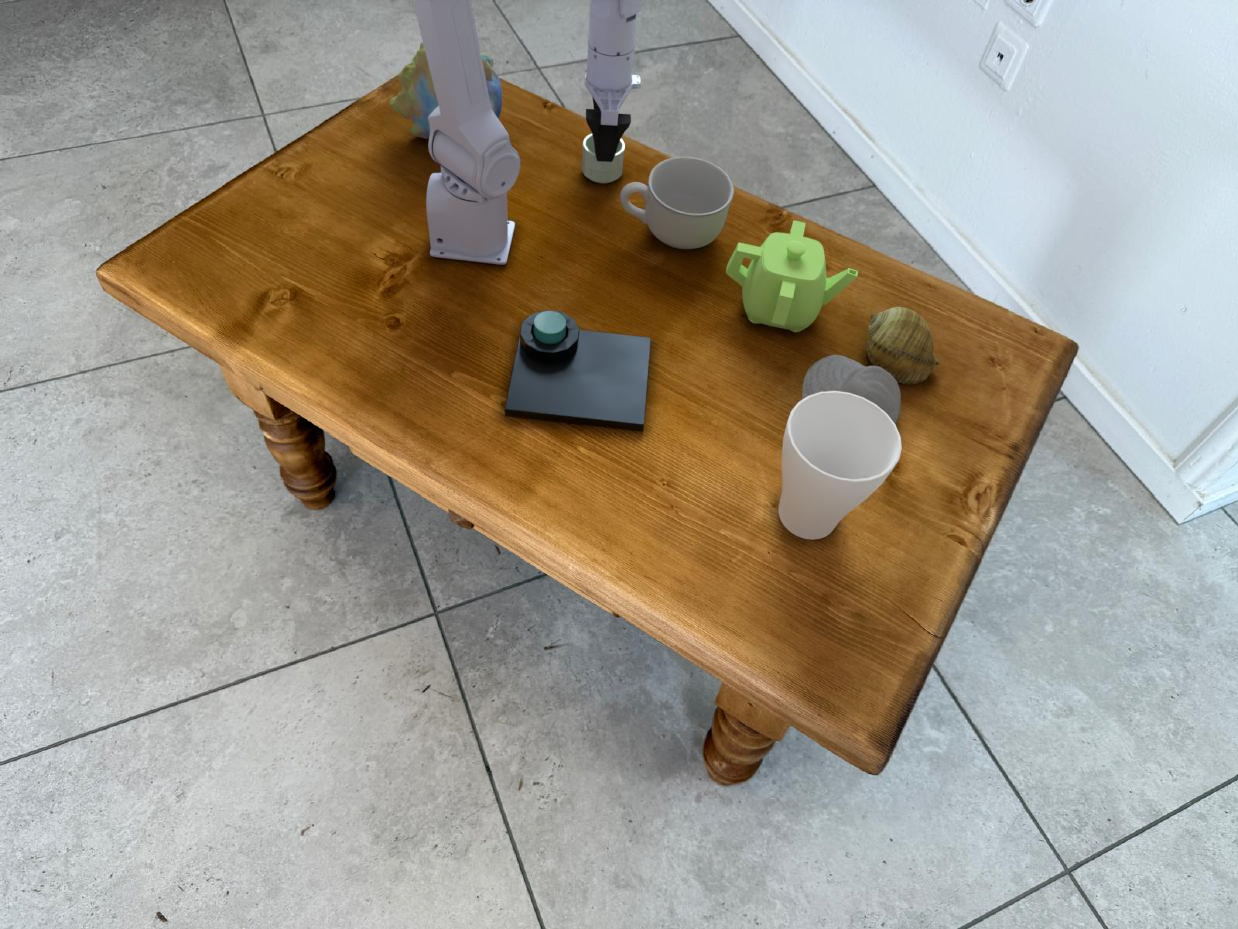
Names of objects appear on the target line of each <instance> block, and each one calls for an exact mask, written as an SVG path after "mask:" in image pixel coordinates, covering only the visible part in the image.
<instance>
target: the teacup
mask: <svg viewBox="0 0 1238 929" xmlns="http://www.w3.org/2000/svg"><path fill="white" fill-rule="evenodd" d="M734 193H735V188H734V184H733V182H732V179H731V178H730V176H729V175H728V174H727V172H726V171H724V170H723V169H722V167H719V166H718V165H716V164H714V163H712V162H711V161H708V160H705V159H703V158H697V157H694V156H674V157H671V158H667V159H664V160H662V161H660V162H659V163H657V164H656V165H655V166H654V167H653V168H652V169H651V171H650V173H649V175H648V182H647V185H646V184H645V183H642V182H639V181H632V182H629V183H627V184H626V185H624V186H623V188H622V189H621V191H620V195H619V200H620V205H621V206H622V208H623V210H624V211H625V212H627V213H628V214H630V215H631V216H633V217H634V218H636V219H639V221H640V223H642V224H644V225H647V227H648V229H649V230H650V232H651V234H653V236H654V237H655V238H656V239H658V240H659V241H660V242H662V243H663V244H665V245H667V246H669V247H671V248H675V249H678V250H692V249H693V250H694V249H699V248H700V249H701V248H702V247H706V246H708V245H709V244H711V243H713V241H715V240H716V239H717V238H718V237H719V236H720V234H721V232H722V231H723V228H724V227H725V224H726V220H727V217H728V213H729V210H730V206H731V203H732V201H733V198H734ZM633 194H641V196H642V197H643V201H644V203H645V207H644V209H643V208H640V207H637V206H635V205H634V204H632V203H631V202H630V201H629V197H630V196H631V195H633Z"/></svg>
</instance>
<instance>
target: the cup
mask: <svg viewBox="0 0 1238 929" xmlns="http://www.w3.org/2000/svg"><path fill="white" fill-rule="evenodd" d="M782 437H783V438H782V450H781V480H782V482H781V494H780V499H779V503H778V517H779V520H780V522H781V523H782V525H783V527H784V528H785V529H786V530H787V531H789V533H790V534H793V535H794V536H796V537H798V538H801V539H804V540H812V541H813V540H820V539H823V538H825V537H827V536H829V535H830V534H831V533H832V532H833V531H834V530H835V528H836V527H837V526H838V524H839V523H840V522H841V520H843V519H844V518H845V517H846V516H847V515H849V513H850V512H852V511H853V510H854V509H855V508H856V507H858V506H859V505H860V504H862V503H864V502H865V501H866V500H867V499H868V498H869V497H870V496H871V495H873V494H874V493H875V491H877V490H878V489H879V488H880V487H881V486H882V485H883V483H884V482H885V481H886V480H887V478H888V476H890V474H891V472H892V471H893V470H894V468H895V467H896V465H898V462H899V461H900V458H901V454H902V449H903V447H902V445H903V444H902V437H901V434H900V432H899V430H898V427H897V424H896V425H895V423H894V422H893V421H892V420H891V418H890V417H889V416H888V414H887V413H886V412H884V411H883V410H882V409H881V408H880V407H878V406H877V405H876V404H874V403H872V402H871V401H869V400H867V399H865V398H863V397H860V396H857V395H854V394H851V393H847V392H840V391H826V392H819V393H816V394H813V395H809V396H807V397H806V398H804V399H803V398H802V399H801V400H799V401H798V402H797V403H796V404H795V405H794V407H793V408H792V409H791V410H790V413H789V416H788V419H787V422H786V425H785V429H784V434H783V436H782Z"/></svg>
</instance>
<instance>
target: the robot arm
mask: <svg viewBox="0 0 1238 929" xmlns="http://www.w3.org/2000/svg"><path fill="white" fill-rule="evenodd" d="M644 2H645V0H589V18H588V19H589V20H588V37H587V38H588V39H587V57H586V70H585V73H584V85H585V87H586V89H587V90H588V92H589V94H590V95H591V99H592V104H593V108H585V120H586V124H587V126H588V128H589V130H590V132H591V134H592V135H593V139H594V147H595V154H596V159H597V161H602V162H612V161H613V159H614V157H615V154H616V151H617V148H618V145H619V142H620V139H621V138H622V137H623V136H624V134H625V133H626V131H627V130H628V129H629V128H630V126H631V123H632V114H631V113H619V111H620V109H621V107H622V105H623V104H624V103H625V101H626V99H627V97H628V96H629V94H630V93H631V91H632V90H639V89H641V87H642V86H641V85H642V78H641V76H640V75H637V74H633V73H634V72H633V70H634V61H635V52H636V43H637V42H636V40H637V30H638V21H639V20H638V19H639V13H640V12H641V11H642V8H643V7H644ZM412 3H413V8H414V12H415V16H416V19H417V23H418V24H417V25H418V28H419V32H420V36H421V40H422V43H423V44H424V48H425V52H426V56H427V61H428V65H429V69H430V73H431V77H432V81H433V85H434V89H435V93H436V97H437V101H438V105H439V106H438V107H437V108H436V109H434V111H433V112H432V113H431V114H430V115H429V117H428V121H429V124H430V136H429V139H428V143H427V146H428V152H429V155H430V157H431V159H432V160H433V161H434V162H435V163H437V164H438V165H439V166H440V172H433V173H431V174H430V176H429V179H428V183H427V186H426V187H427V188H426V196H425V197H426V201H425V204H426V205H425V208H426V219H427V227H428V236H429V244H430V250H429V255H430V256H431V257H432V258H441V259H447V260H448V259H449V260H459V261H466V262H475V263H484V264H493V265H501V266H503V265H504V266H505V265H506V264H507V263H508V258H509V254H510V250H511V247H512V242H513V237H514V232H515V228H516V222H515V221H512V220H508V218H509V216H508V192H509V191H510V190H511V189H512V188H513V186H514V185H515V183H516V181H517V179H518V177H519V174H520V170H521V158H520V155H519V153H518V151H517V150H516V149H515V148H514V147H513V146H512V143H511V140H510V135H509V133H508V131H507V130H506V128H505V127H504V125H503V124H502V122H501V121H500V119H499V118H497V117H496V115H495V114H494V112H493V111H492V109H491V105H490V100H489V95H488V89H487V84H486V78H485V73H484V68H483V62H482V57H481V53H482V51H481V46H480V41H479V36H478V32H477V24H476V21H475V14H474V9H473V4H472V0H412Z"/></svg>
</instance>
